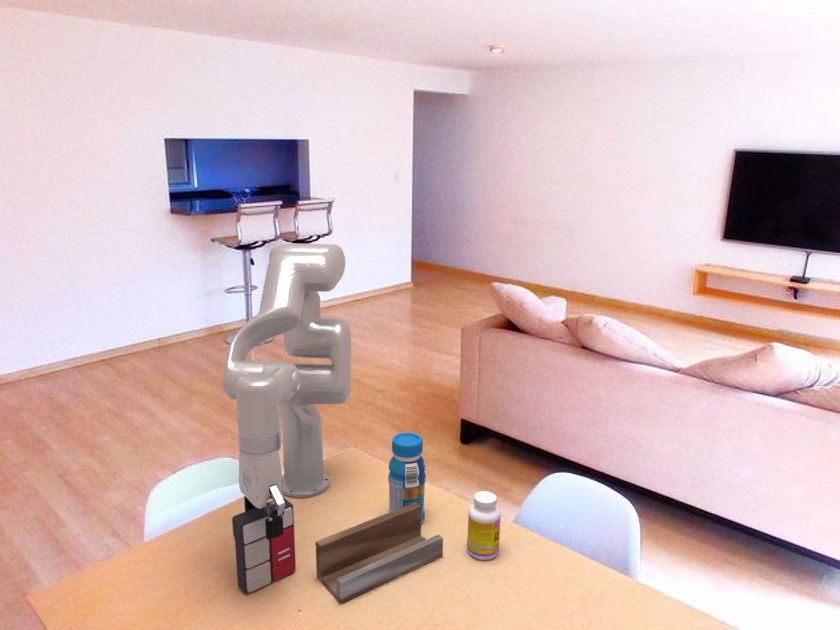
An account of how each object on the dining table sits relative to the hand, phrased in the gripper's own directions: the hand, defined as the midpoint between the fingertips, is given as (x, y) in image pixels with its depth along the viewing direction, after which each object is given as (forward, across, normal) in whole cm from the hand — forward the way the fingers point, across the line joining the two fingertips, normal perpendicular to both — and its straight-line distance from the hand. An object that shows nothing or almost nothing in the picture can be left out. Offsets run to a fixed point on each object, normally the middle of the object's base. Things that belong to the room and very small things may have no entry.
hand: (263, 524), depth 119 cm
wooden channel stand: (+12, +9, +20) cm, 26 cm away
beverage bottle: (+12, -2, +34) cm, 37 cm away
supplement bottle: (+12, +17, +40) cm, 46 cm away
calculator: (+13, -1, +1) cm, 13 cm away
